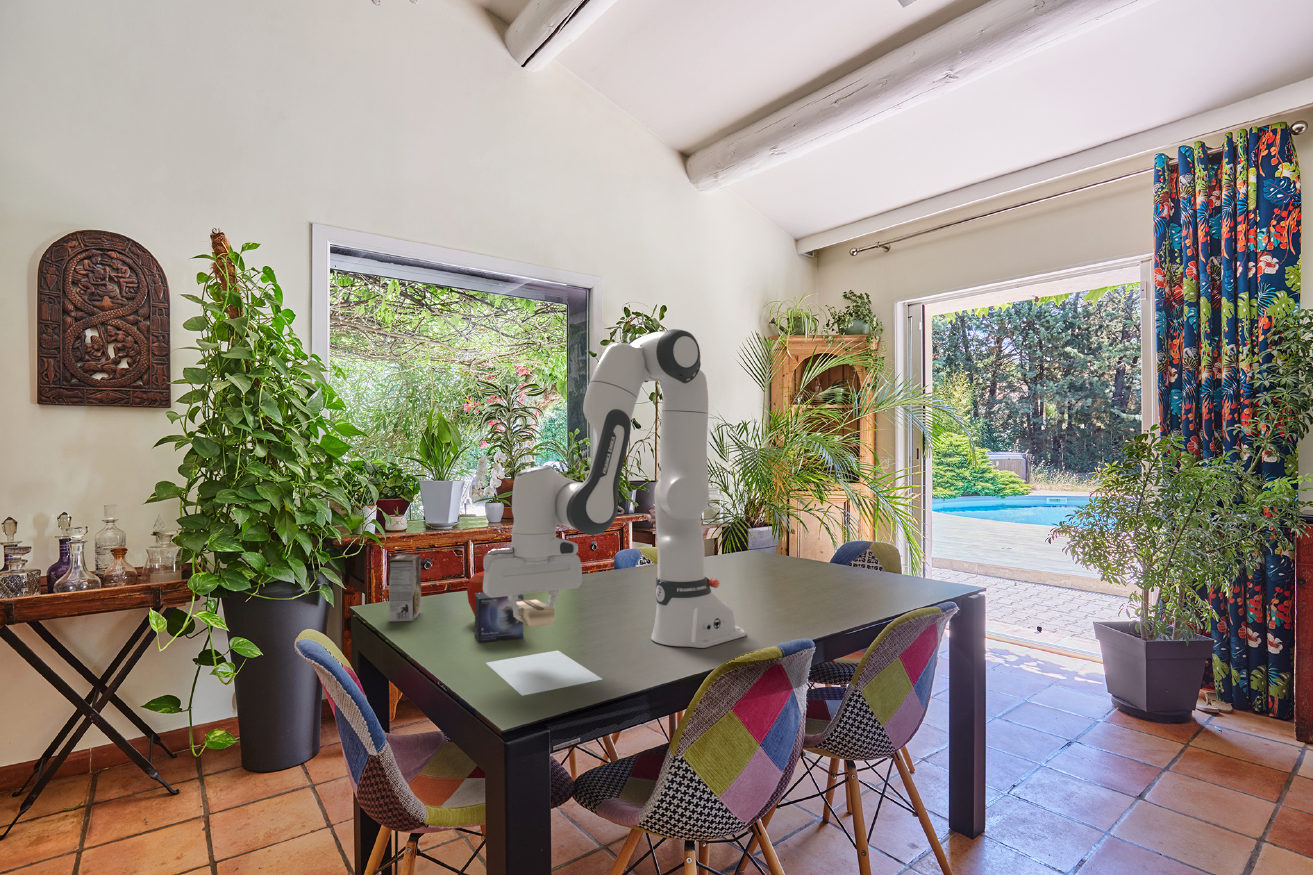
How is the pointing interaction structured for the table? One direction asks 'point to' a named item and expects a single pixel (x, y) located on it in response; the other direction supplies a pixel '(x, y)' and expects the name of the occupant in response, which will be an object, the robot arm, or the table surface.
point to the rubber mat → (542, 672)
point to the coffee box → (404, 587)
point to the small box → (496, 619)
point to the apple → (475, 588)
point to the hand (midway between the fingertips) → (533, 614)
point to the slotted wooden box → (536, 613)
